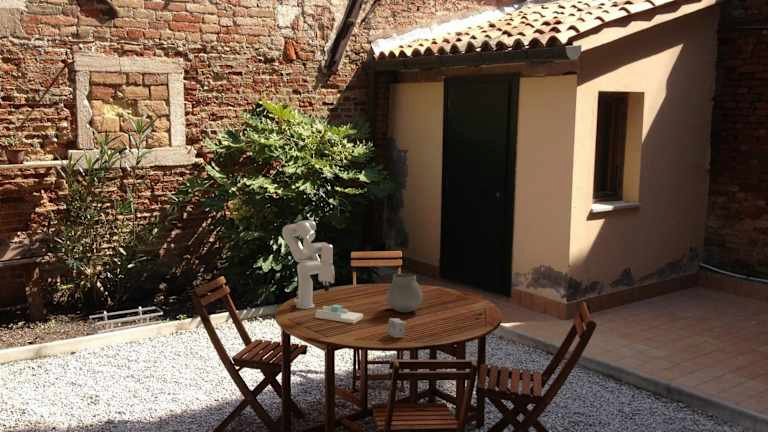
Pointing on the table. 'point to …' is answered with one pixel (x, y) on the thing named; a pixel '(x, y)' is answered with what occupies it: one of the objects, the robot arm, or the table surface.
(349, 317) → the deck
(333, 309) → the block
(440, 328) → the table surface
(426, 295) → the table surface
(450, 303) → the table surface
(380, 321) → the table surface
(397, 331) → the incense holder
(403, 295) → the ceramic pot
